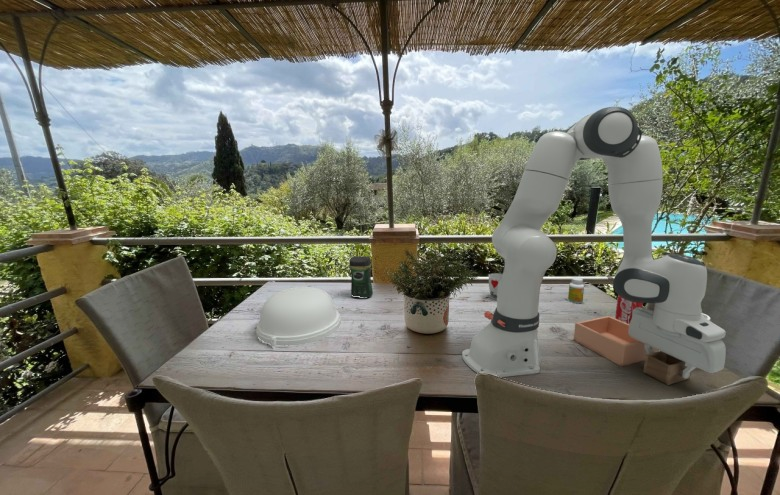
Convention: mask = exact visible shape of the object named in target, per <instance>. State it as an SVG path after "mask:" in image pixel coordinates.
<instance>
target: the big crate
mask: <svg viewBox="0 0 780 495" xmlns="http://www.w3.org/2000/svg"><path fill="white" fill-rule="evenodd" d="M629 325H630V324H627V323H625V322H622V321H620V320H617V319H615V317H612V316H610V315H606V316H602V317H597V318H591V319H587V320H582V321H577V322H575V323H574V335H573V342H576V343H578V344H579V345H582V346H584V347H585V348H587V349H589V350H591V351H593V352H594V353H596V354H598V355H600V356H601V357H604V358H605V359H608V360H609V361H612V362H613V363H615V364H616V365H618V366H620V367H626V366H630V365H633V364H636V363H640V362H643V361H644V362H645V357H646V355H648V354H647V352H646V350H645V348H644V345H645V344H644V343H642V342H640V341H638V340H635V339H633V338H631V337H630V336H629V334H628V329H629ZM653 350H654V352H659V351H660V350H657V349H655V348H653Z"/></svg>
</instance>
